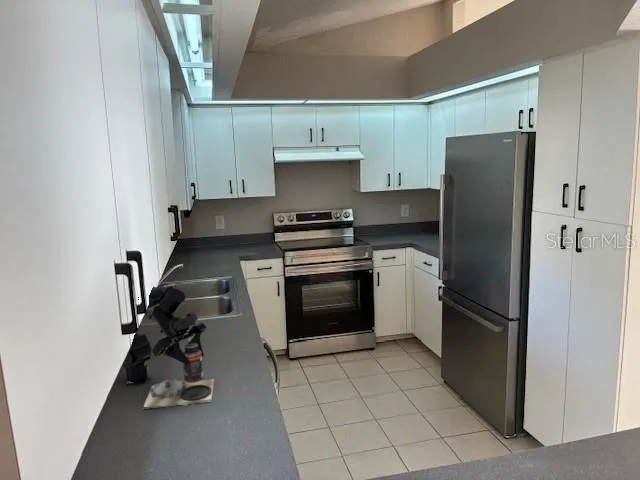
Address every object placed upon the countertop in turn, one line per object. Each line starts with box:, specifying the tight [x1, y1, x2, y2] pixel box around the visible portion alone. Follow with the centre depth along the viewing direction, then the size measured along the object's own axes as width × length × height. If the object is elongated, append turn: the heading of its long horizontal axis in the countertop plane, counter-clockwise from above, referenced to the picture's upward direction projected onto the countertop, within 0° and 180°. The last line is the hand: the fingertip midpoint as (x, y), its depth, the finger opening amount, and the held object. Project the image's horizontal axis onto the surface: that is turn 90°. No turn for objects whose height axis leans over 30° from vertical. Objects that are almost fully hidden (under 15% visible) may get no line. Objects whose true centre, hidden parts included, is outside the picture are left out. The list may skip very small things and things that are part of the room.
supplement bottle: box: [182, 343, 205, 383], centre depth 150 cm, size 6×6×11 cm
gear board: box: [143, 378, 215, 407], centre depth 153 cm, size 20×14×4 cm
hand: (195, 360), depth 150 cm, fingers closed on supplement bottle, 6 cm apart
